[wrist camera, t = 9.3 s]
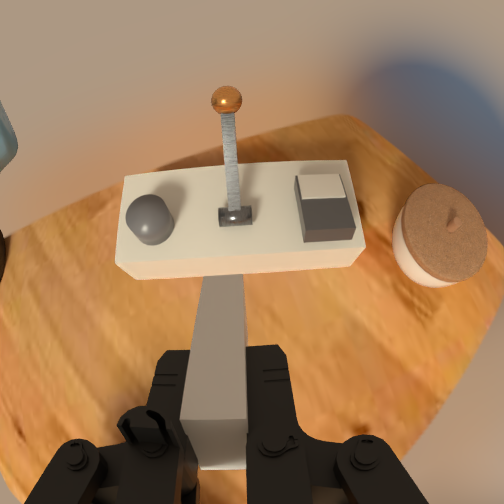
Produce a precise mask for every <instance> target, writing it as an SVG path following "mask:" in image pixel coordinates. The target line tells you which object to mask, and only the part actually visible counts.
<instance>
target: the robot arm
mask: <svg viewBox="0 0 504 504" xmlns="http://www.w3.org/2000/svg"><path fill="white" fill-rule="evenodd" d="M17 149H18V143H17V138H16V135H15V132H14V130H13V128H12V125H11V123H10V121H9V119H8V116H7V114H6V112H5V110H4V108H3V106H2V104H1V102H0V172H1V171H2V170H3V168H4V167H5V166H6V165H7V164H8V163H9V162H10V161H11V160H12V159H13V158H14V157H15V155H16V153H17ZM4 262H5V242H4V237H3V234H2V232H1V230H0V280H1V276H2V273H3V268H4ZM117 427H118V428H119V430H120V432H121V433H122V435H123V436H124V438H125V439H126V442H124V443H120V444H117V445H111V446H105V447H98V448H96V446H95V445H94V444H92V443H91V442H89V441H88V440H84V439H73V440H70V441H68V442H66V443H64V444H63V445H62V446H61V447H60V448H59V449H58V450H57V452H56V453H55V455H54V457H53V458H52V460H51V461H50V463H49V464H48V466H47V467H46V469H45V471H44V472H43V474H42V475H41V477H40V479H39V480H38V482H37V483H36V485H35V487H34V488H33V490H32V491H31V493H30V495H29V496H28V498H27V500H26V501H25V503H24V504H199V499H200V484H199V480H198V478H197V470H198V465H199V467H200V469H201V470H238V469H246V478H247V504H429V503H428V502H427V500H426V499H425V497H424V496H423V494H422V493H421V492H420V490H419V489H418V487H417V486H416V484H415V483H414V481H413V480H412V478H411V477H410V475H409V474H408V472H407V471H406V470H405V468H404V467H403V465H402V464H401V462H400V461H399V459H398V458H397V456H396V455H395V453H394V452H393V451H392V449H391V448H390V446H389V445H388V444H387V443H386V442H385V441H384V440H383V439H381V438H378V437H376V436H374V435H363V434H362V435H358V436H354V437H351V438H350V439H348V440H347V441H345V442H344V443H334V442H326V441H321V440H317V439H314V438H312V437H310V436H308V435H307V434H306V433H305V432H304V431H303V430H302V429H301V428H300V426H299V424H298V421H297V417H296V411H295V405H294V399H293V393H292V387H291V381H290V375H289V371H288V363H287V357H286V354H285V353H284V352H283V351H282V349H281V348H280V347H279V346H278V344H277V345H263V346H249V347H248V330H247V318H246V306H245V294H244V282H243V274H231V275H215V276H204V277H203V283H202V288H201V293H200V299H199V304H198V310H197V315H196V321H195V326H194V332H193V338H192V344H191V350H167V351H166V352H165V353H164V354H163V356H162V357H161V358H160V359H159V360H158V362H157V366H156V370H155V376H154V378H153V382H152V387H151V389H150V393H149V397H148V402H147V406H138V407H135V408H133V409H131V410H128V411H127V412H126V413H125V414H124V415H122V416H121V417H120V419H119V421H118V423H117Z"/></svg>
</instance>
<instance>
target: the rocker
mask: <svg viewBox="0 0 504 504" xmlns="http://www.w3.org/2000/svg"><path fill="white" fill-rule="evenodd" d="M294 191H295V196H296V202H297V207H298V213H299V219H300V224H301V230H302V236H303V242H304V243H308V242H324V241H340V240H352V238H353V235H354V233H355V230H356V225H355V222H354V218H353V215H352V211H351V208H350V205H349V201H348V198H347V195H346V192H345V188H344V185H343V182H342V179H341V176H340V174H317V175H298V176H295V183H294Z"/></svg>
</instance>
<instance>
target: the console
mask: <svg viewBox="0 0 504 504" xmlns="http://www.w3.org/2000/svg"><path fill="white" fill-rule="evenodd" d="M238 172H239V186H240V199H241V206H248V205H251V208H252V223H253V225H244V226H229V227H219V221H218V208H219V207H228V198H227V187H226V175H225V165H219V166H207V167H197V168H187V169H177V170H168V171H160V172H152V173H144V174H136V175H129V176H125V180H124V187H123V193H122V201H121V208H120V216H119V225H118V234H117V244H116V255H115V264H116V265H118V266H119V267H120V268H121V269H123V270H124V271H125V272H127V273H128V274H129V275H130V276H132V277H133V278H134V279H136V280H144V279H164V278H183V277H201V276H215V275H231V274H251V273H266V272H281V271H295V270H309V269H323V268H336V267H348V266H351V265H352V263H353V262H354V261H355V260H356V258H357V257H358V256H359V255H360V254H361V252H362V251H363V250H364V249H365V247H366V246H365V240H364V235H363V230H362V225H361V220H360V215H359V211H358V206H357V202H356V197H355V193H354V188H353V184H352V180H351V176H350V172H349V168H348V164H347V160H312V161H283V162H262V163H246V164H238ZM317 174H340V176H341V179H342V182H343V185H344V188H345V192H346V195H347V198H348V201H349V205H350V208H351V211H352V215H353V218H354V222H355V225H356V230H355V233H354V235H353V238H352V240H340V241H324V242H308V243H304V242H303V236H302V230H301V224H300V219H299V213H298V207H297V202H296V196H295V191H294V183H295V176H298V175H317ZM146 194H153V195H157V196H159V197H160V198H162V199H163V201H164V202H165V204H166V206H167V208H168V209H169V211H170V213H171V215H172V217H173V219H174V229H173V232H172V234H171V235H170V237H169V238H168V239H167V240H166V241H164V242H163V243H161V244H158V245H154V246H150V245H146V244H144V243H142V242H141V241H140V240H139V239H138V238H137V237H136V236H135V234H134V233H133V232H132V231H131V230H130V229H129V227H128V226H127V224H126V219H125V217H126V212H127V209H128V207H129V205H130V204H131V203H132V202H133V201H134V200H135V199H136V198H138V197H140V196H142V195H146Z"/></svg>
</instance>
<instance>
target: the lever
mask: <svg viewBox="0 0 504 504" xmlns="http://www.w3.org/2000/svg"><path fill="white" fill-rule="evenodd" d="M211 103H212V106H213V108H214V109H215V111H216V112H218V113H219V114H221V125H222V138H223V150H224V163H225V175H226V187H227V198H228V207H219V208H218V221H219V227H229V226H244V225H253V223H252V208H251V205H248V206H241V199H240V186H239V172H238V158H237V144H236V132H235V131H236V130H235V117H234V113H235V112H237V111H238V110H239V108H240V107H241V104H242V96H241V94H240V92H239V91H238V90H237V89H236V88H234V87H231V86H223V87H220V88H218V89H217V90H216V91H215V92H214V93H213V95H212V99H211Z"/></svg>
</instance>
